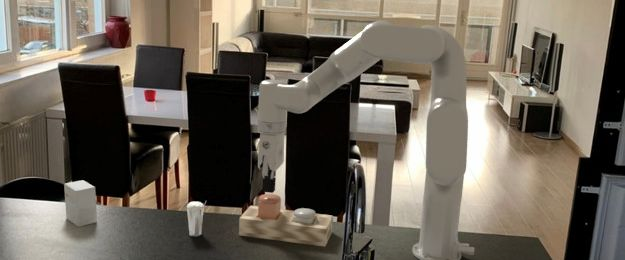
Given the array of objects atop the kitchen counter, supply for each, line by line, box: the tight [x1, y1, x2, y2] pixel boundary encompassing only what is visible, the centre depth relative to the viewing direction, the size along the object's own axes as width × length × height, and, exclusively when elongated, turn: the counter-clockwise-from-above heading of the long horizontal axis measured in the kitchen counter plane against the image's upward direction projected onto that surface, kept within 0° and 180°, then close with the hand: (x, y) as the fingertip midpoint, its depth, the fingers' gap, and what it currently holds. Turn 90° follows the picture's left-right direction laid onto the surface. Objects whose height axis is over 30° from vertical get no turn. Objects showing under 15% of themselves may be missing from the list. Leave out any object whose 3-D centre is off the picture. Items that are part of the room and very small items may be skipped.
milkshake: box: [186, 201, 207, 237], centre depth 165 cm, size 4×5×10 cm
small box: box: [63, 179, 98, 227], centre depth 171 cm, size 8×6×10 cm
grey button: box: [293, 207, 317, 224], centre depth 168 cm, size 6×6×6 cm
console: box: [238, 205, 334, 248], centre depth 169 cm, size 24×10×5 cm, turn 78°
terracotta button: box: [257, 193, 282, 220], centre depth 169 cm, size 6×6×6 cm
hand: (268, 191), depth 168 cm, fingers closed
